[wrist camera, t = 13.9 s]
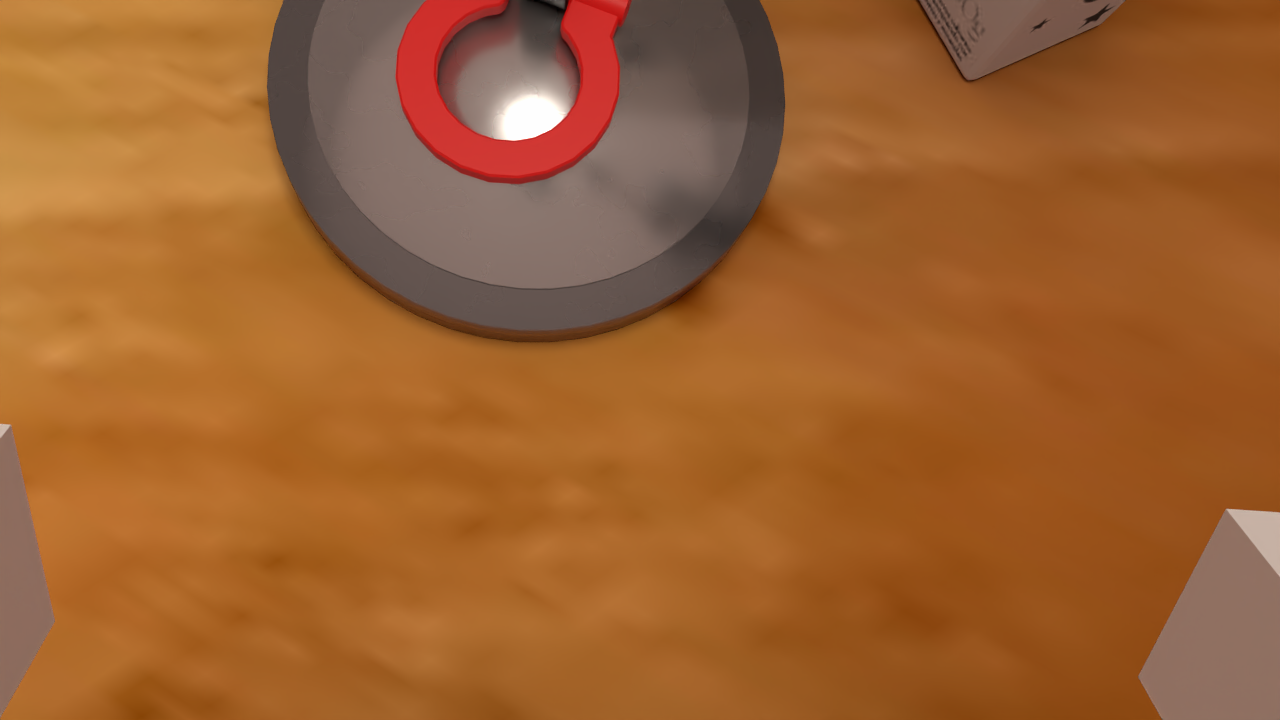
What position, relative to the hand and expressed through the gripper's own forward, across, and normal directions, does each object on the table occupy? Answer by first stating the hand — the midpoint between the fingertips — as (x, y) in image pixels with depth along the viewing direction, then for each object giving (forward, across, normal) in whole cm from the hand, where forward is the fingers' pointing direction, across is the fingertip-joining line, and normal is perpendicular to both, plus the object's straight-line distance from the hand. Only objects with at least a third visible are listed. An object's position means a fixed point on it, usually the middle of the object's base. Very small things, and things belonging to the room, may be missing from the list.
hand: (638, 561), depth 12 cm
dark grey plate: (+34, -2, -6) cm, 34 cm away
